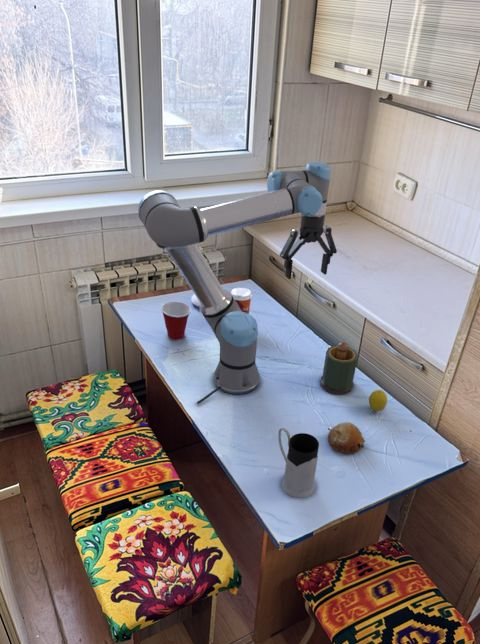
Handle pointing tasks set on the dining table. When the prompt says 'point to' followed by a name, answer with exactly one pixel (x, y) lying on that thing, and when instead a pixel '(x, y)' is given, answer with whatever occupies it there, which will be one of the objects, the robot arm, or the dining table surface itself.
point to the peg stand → (341, 355)
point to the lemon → (378, 400)
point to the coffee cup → (242, 298)
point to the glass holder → (300, 464)
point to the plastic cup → (175, 318)
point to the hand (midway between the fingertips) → (306, 275)
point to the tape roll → (339, 369)
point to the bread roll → (346, 438)
